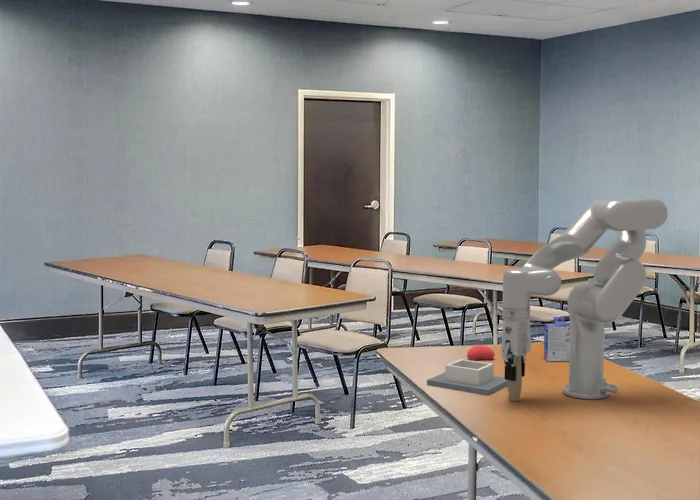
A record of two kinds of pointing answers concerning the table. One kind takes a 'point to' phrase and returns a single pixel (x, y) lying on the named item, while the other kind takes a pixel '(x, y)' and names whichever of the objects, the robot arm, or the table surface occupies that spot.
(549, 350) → the ink cartridge box
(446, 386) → the socket
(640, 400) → the table surface
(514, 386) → the handle
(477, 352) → the red bean shape
